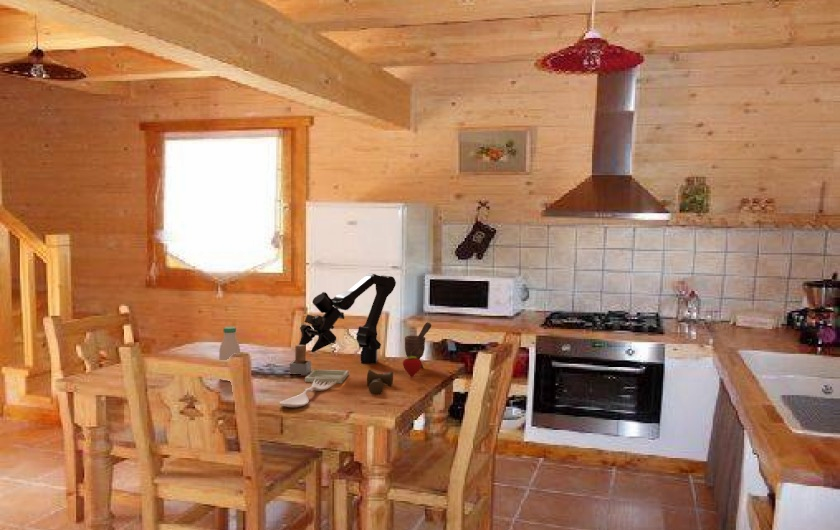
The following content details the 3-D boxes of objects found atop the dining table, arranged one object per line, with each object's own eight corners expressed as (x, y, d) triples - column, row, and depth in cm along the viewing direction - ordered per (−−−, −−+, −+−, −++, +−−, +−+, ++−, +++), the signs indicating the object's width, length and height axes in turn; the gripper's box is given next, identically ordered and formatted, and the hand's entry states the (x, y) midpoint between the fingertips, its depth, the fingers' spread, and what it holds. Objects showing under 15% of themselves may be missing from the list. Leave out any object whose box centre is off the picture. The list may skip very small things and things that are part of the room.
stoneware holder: (310, 372, 263) (311, 360, 262) (306, 376, 256) (306, 364, 256) (294, 372, 263) (294, 360, 263) (289, 376, 256) (289, 363, 256)
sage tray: (348, 376, 258) (348, 370, 258) (341, 385, 244) (341, 379, 244) (313, 374, 259) (314, 369, 259) (304, 383, 245) (304, 377, 245)
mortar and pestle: (433, 366, 277) (434, 320, 276) (429, 371, 269) (430, 323, 267) (406, 365, 279) (407, 318, 278) (402, 369, 271) (403, 321, 270)
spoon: (337, 388, 240) (337, 379, 240) (299, 413, 209) (299, 402, 209) (314, 386, 242) (315, 377, 242) (274, 410, 211) (274, 399, 211)
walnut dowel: (306, 372, 261) (306, 344, 261) (304, 374, 257) (304, 346, 257) (296, 371, 262) (296, 344, 261) (294, 373, 258) (294, 346, 257)
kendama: (361, 396, 231) (369, 380, 251) (388, 397, 231) (394, 382, 251) (362, 379, 231) (369, 365, 251) (389, 381, 230) (394, 367, 250)
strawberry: (420, 379, 255) (421, 353, 254) (401, 378, 256) (402, 353, 255) (422, 375, 261) (422, 350, 260) (403, 374, 262) (403, 350, 261)
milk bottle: (241, 380, 248) (241, 328, 247) (220, 382, 245) (220, 329, 244) (239, 376, 255) (239, 325, 254) (218, 377, 252) (218, 326, 251)
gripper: (304, 305, 270) (280, 334, 263) (330, 310, 256) (306, 340, 249) (319, 322, 276) (297, 351, 269) (346, 327, 262) (323, 358, 255)
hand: (305, 349), depth 260 cm, fingers open, 9 cm apart
